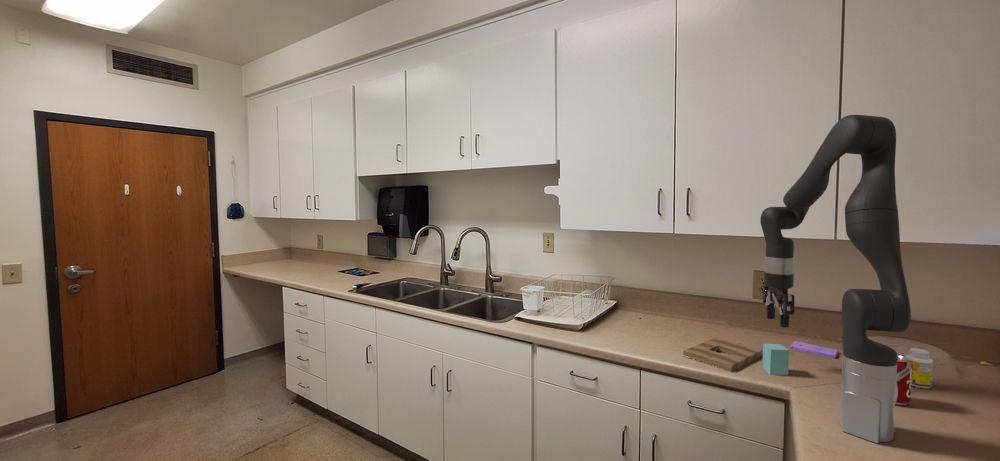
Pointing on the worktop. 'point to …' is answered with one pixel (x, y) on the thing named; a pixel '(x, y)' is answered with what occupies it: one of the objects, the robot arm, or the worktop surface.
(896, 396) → the soda can
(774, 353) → the teal block
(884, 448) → the worktop surface
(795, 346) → the sponges
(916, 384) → the supplement bottle
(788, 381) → the worktop surface
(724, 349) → the socket board
